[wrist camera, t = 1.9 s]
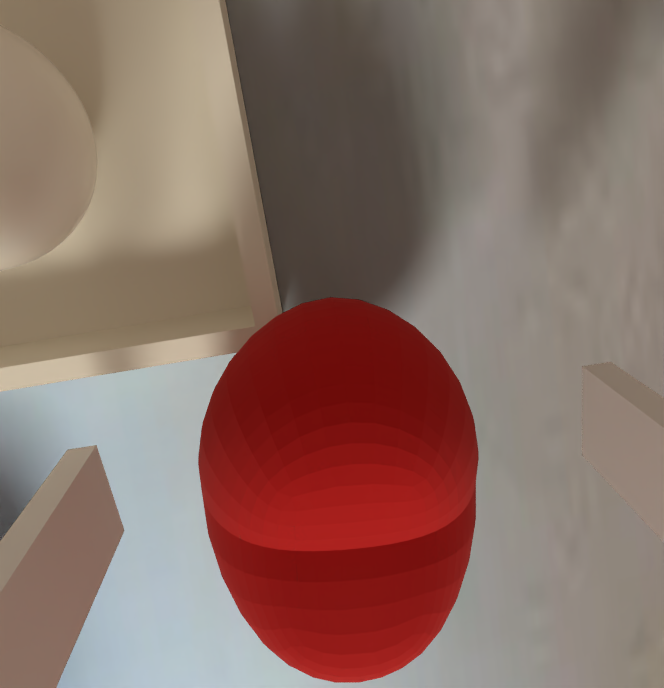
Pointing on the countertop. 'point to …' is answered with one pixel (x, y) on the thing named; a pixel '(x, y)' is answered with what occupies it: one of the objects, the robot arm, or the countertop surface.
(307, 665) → the red rounded piece
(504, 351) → the countertop surface
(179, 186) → the tray
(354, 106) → the countertop surface
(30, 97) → the egg
